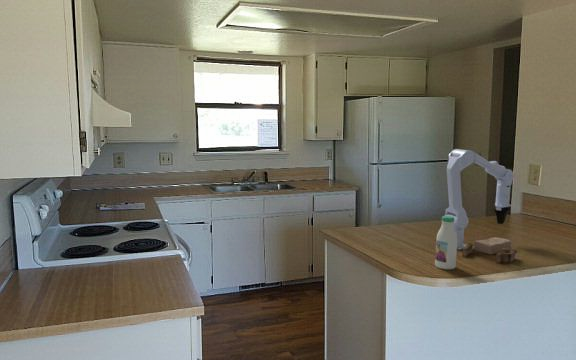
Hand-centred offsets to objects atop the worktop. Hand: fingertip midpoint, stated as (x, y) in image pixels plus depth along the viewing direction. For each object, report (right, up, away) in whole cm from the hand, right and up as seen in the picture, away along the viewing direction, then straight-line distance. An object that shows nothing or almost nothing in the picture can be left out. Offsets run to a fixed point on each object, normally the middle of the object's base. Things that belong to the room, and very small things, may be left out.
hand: (500, 223), depth 208 cm
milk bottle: (-38, -14, -34) cm, 53 cm away
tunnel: (-15, -12, -21) cm, 29 cm away
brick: (-8, -11, -10) cm, 17 cm away
